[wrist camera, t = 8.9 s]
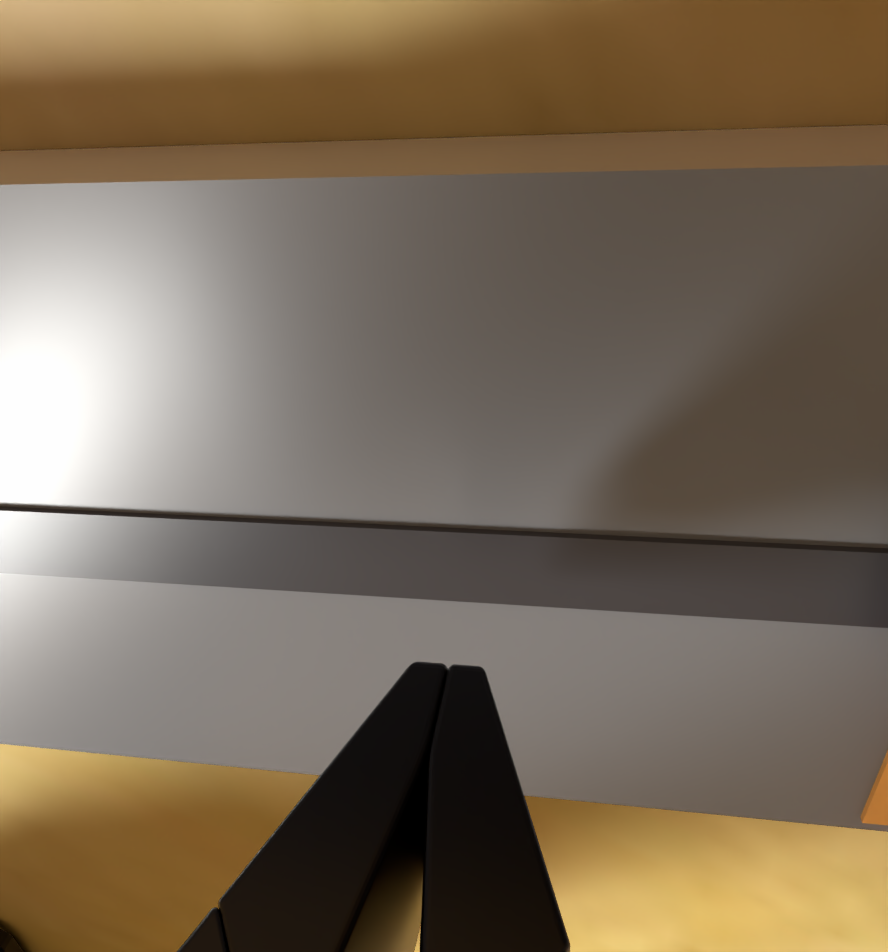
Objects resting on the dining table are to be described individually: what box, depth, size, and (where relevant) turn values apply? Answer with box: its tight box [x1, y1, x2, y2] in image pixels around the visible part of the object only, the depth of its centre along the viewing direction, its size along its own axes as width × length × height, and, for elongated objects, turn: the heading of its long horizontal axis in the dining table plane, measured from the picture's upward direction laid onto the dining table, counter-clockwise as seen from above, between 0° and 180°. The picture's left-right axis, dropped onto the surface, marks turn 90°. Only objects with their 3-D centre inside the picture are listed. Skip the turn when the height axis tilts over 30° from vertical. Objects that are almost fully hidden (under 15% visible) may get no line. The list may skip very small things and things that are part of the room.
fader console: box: [0, 125, 888, 832], centre depth 11 cm, size 10×26×3 cm, turn 93°
